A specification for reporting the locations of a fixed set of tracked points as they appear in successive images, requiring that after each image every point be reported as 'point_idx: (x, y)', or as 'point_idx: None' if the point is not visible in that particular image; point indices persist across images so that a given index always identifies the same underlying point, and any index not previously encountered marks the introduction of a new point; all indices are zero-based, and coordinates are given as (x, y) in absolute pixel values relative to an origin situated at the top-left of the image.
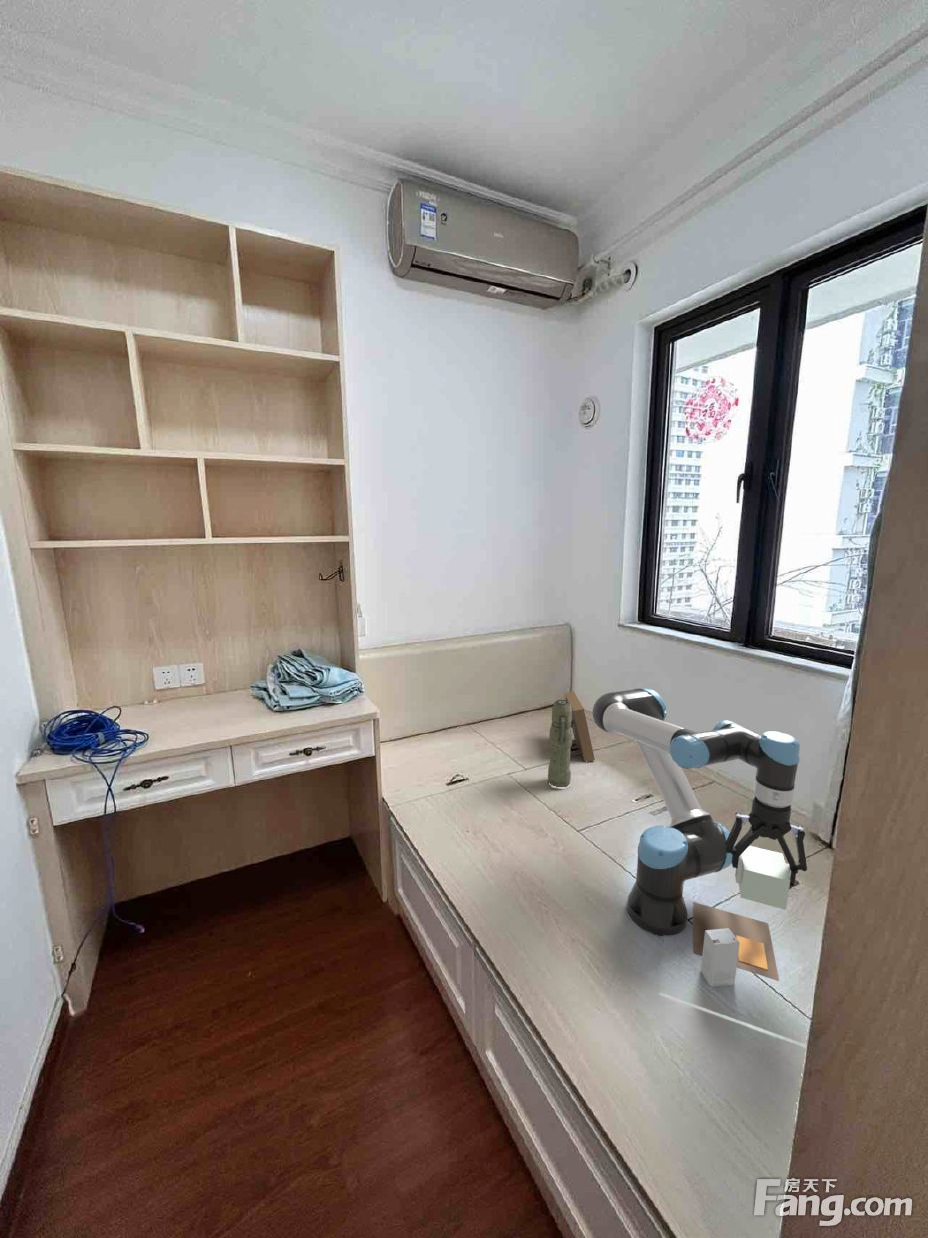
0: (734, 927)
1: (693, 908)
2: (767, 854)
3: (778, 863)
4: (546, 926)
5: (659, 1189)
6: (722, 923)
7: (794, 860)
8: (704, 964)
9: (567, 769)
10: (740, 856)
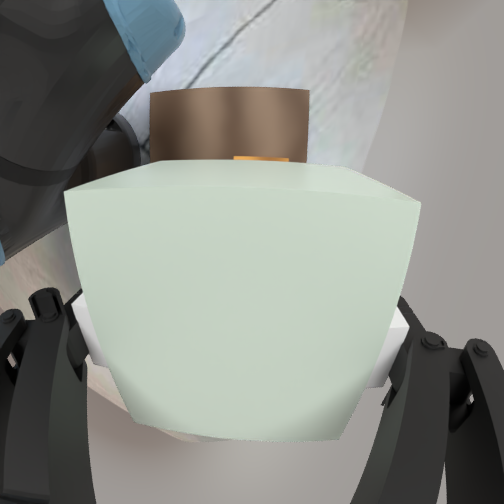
0: (232, 131)
1: (150, 113)
2: (275, 272)
3: (334, 355)
4: (8, 262)
5: (173, 434)
6: (207, 129)
7: (448, 360)
8: None
9: None
10: (92, 346)
